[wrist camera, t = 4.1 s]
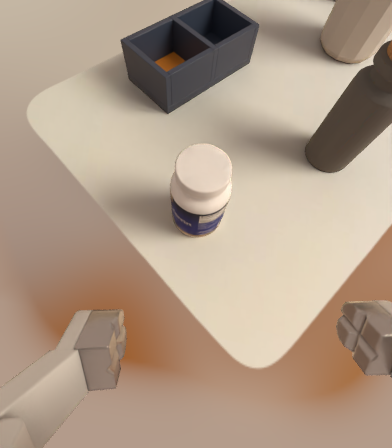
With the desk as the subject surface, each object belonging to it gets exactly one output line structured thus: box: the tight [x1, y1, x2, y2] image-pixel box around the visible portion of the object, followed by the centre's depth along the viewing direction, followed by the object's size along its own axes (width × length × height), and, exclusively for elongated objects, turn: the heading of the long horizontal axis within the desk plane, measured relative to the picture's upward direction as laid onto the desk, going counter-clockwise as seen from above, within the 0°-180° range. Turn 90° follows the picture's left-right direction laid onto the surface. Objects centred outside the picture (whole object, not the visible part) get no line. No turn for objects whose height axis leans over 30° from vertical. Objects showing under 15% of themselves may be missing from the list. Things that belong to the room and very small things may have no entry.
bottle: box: [305, 40, 392, 172], centre depth 26 cm, size 6×6×15 cm
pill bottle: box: [170, 144, 232, 237], centre depth 24 cm, size 6×6×10 cm
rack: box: [121, 0, 259, 113], centre depth 35 cm, size 17×9×6 cm, turn 133°
